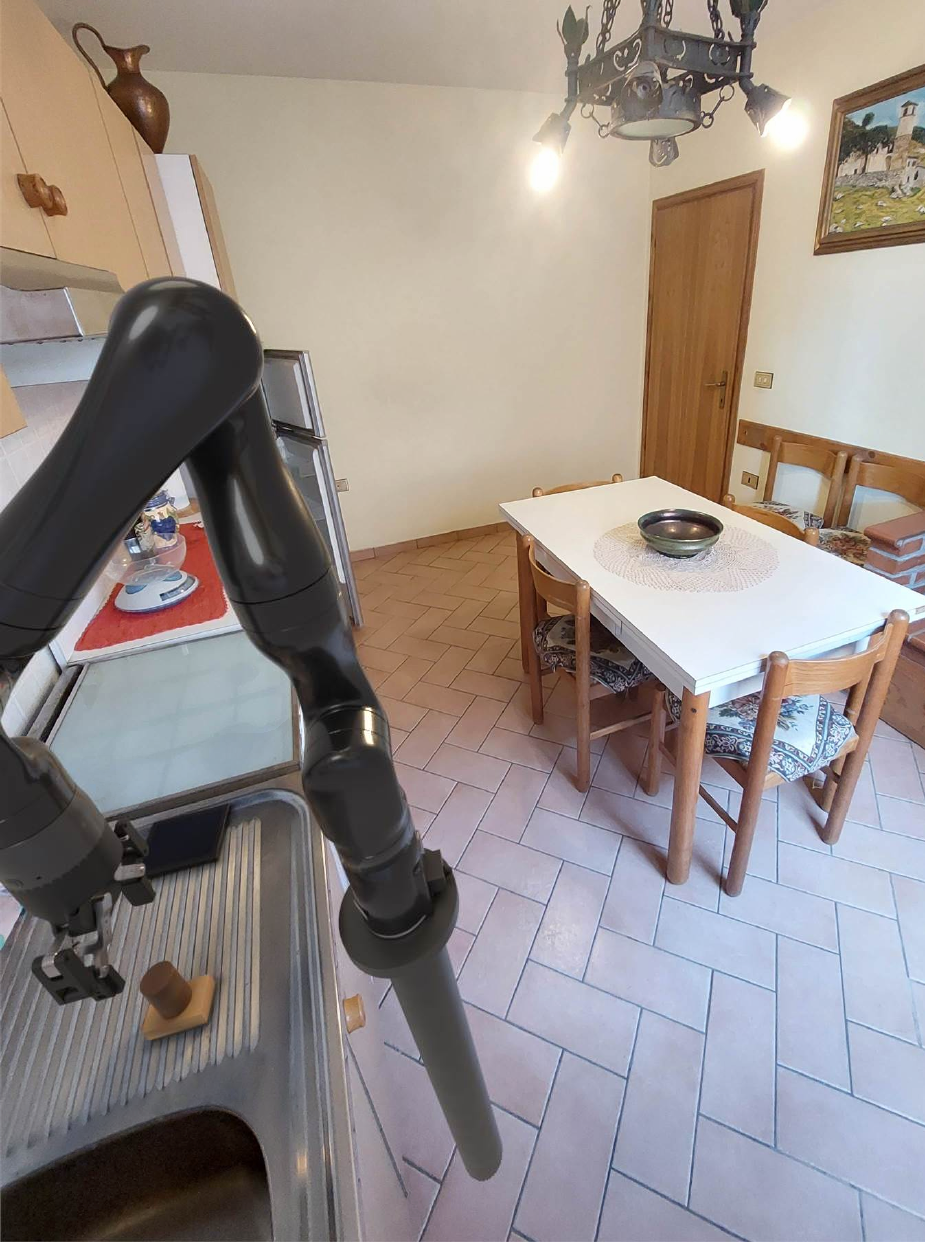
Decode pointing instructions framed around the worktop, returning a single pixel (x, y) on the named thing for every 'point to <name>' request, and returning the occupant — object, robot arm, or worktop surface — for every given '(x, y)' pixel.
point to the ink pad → (186, 841)
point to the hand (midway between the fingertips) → (130, 943)
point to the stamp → (175, 1001)
